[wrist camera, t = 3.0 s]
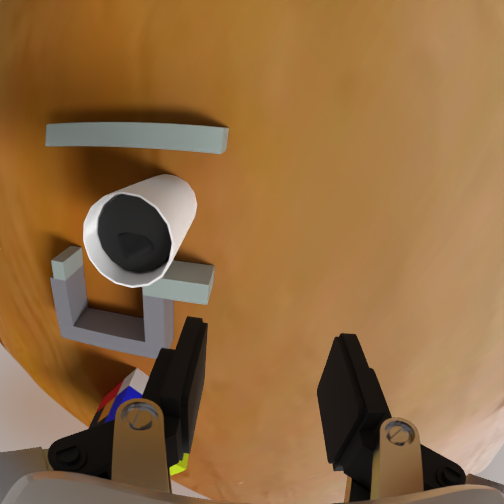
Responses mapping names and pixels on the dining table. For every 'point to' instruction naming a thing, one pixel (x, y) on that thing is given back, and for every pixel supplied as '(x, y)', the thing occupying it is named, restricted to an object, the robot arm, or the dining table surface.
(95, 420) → the puzzle toy
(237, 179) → the dining table surface
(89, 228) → the white cup
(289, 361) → the dining table surface
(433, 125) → the dining table surface
